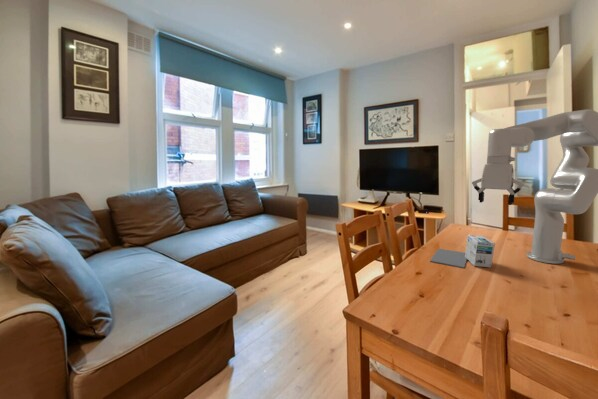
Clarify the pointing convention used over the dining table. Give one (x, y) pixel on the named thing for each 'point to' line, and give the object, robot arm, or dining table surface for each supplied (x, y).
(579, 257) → the dining table surface
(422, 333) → the dining table surface
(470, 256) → the light bulb box
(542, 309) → the dining table surface
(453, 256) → the mat
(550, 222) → the robot arm
